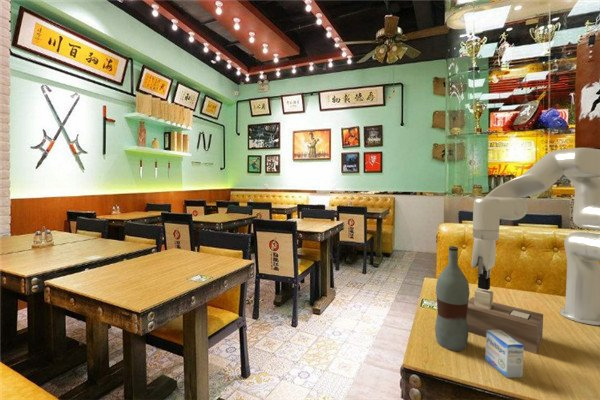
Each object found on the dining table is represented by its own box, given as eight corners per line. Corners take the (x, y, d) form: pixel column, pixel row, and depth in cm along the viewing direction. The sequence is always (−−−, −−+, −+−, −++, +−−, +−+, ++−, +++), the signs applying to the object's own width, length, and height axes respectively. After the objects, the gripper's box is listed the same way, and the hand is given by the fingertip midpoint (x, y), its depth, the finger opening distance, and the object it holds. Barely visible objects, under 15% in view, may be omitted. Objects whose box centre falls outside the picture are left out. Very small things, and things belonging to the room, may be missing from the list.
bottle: (469, 355, 84) (472, 251, 82) (434, 347, 88) (436, 248, 86) (466, 339, 92) (469, 245, 91) (434, 333, 96) (436, 243, 95)
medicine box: (484, 360, 82) (485, 329, 81) (499, 359, 82) (500, 329, 81) (506, 378, 74) (507, 344, 73) (523, 377, 74) (524, 344, 74)
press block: (472, 318, 107) (472, 297, 107) (542, 338, 93) (543, 314, 92) (460, 329, 99) (461, 306, 99) (536, 353, 84) (537, 326, 84)
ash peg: (477, 310, 102) (478, 287, 102) (492, 314, 99) (493, 291, 99) (474, 314, 99) (474, 290, 99) (489, 318, 96) (489, 294, 96)
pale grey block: (512, 334, 95) (512, 310, 95) (529, 339, 92) (530, 314, 92) (509, 339, 92) (509, 314, 92) (526, 344, 89) (527, 318, 89)
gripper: (479, 231, 106) (477, 281, 107) (465, 235, 96) (464, 291, 96) (504, 233, 100) (502, 286, 101) (492, 238, 90) (490, 297, 91)
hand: (483, 288), depth 99 cm, fingers closed
